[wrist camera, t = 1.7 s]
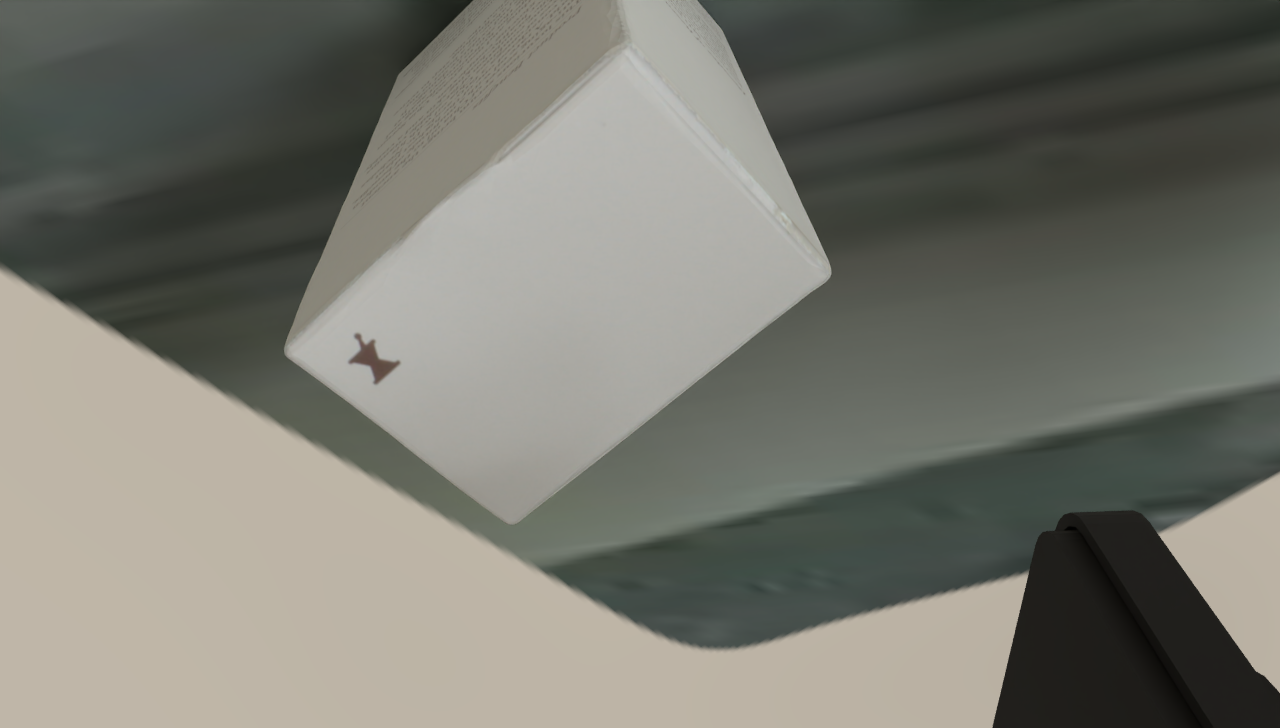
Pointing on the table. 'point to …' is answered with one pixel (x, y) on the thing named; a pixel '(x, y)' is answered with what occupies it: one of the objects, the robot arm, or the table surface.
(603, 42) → the skincare box
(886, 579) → the table surface
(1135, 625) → the robot arm
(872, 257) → the table surface
